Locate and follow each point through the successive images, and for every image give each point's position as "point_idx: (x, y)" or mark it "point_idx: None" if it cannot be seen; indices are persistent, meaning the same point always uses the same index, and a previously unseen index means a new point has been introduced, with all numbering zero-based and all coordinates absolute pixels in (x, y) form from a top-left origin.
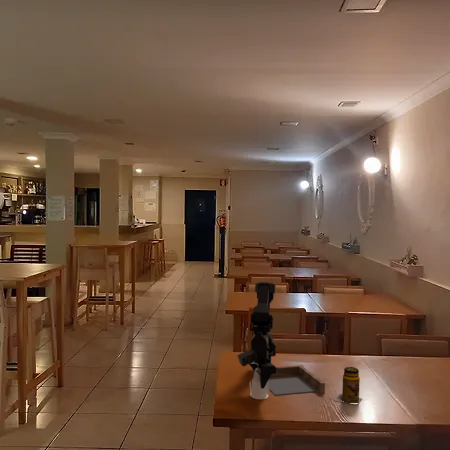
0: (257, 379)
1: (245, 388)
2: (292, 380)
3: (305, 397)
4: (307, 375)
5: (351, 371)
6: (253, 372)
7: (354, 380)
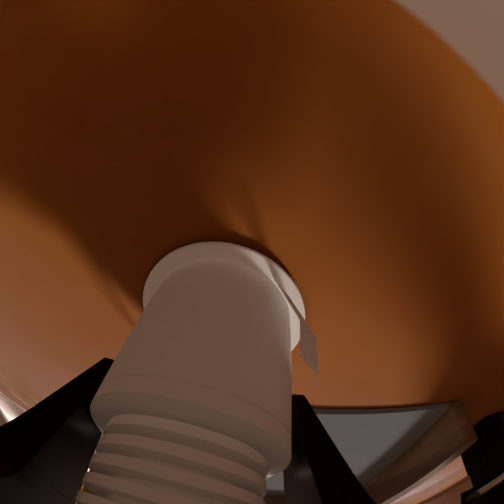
0: (120, 426)
1: (417, 293)
2: None
3: None
4: None
5: None
6: (338, 488)
7: None
